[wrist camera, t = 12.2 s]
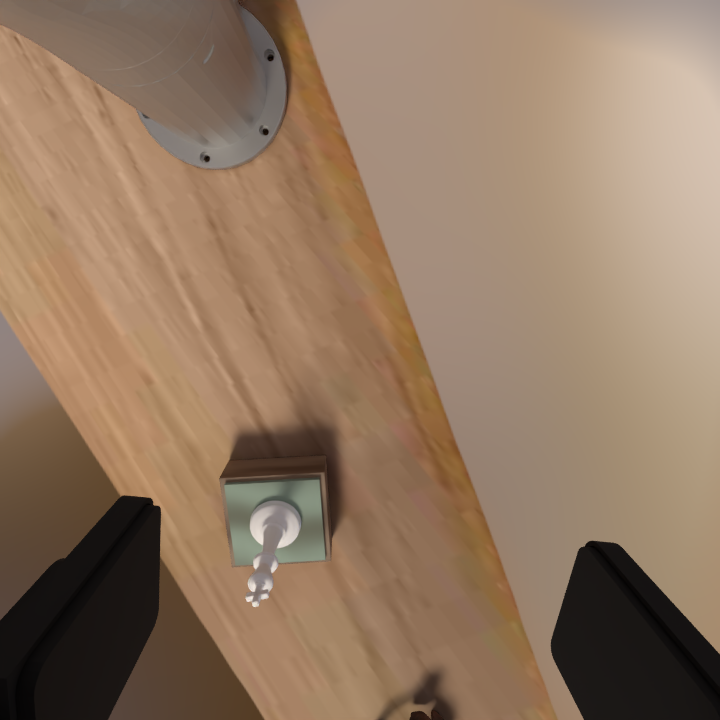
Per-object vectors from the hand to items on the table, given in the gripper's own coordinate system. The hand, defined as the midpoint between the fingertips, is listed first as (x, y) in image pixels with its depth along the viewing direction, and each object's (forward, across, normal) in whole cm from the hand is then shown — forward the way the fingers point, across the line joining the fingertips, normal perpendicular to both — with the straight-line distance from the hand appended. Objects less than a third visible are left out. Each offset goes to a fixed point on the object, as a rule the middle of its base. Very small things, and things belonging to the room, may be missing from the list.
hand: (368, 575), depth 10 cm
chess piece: (+29, +5, +20) cm, 36 cm away
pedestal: (+33, +5, +20) cm, 39 cm away
